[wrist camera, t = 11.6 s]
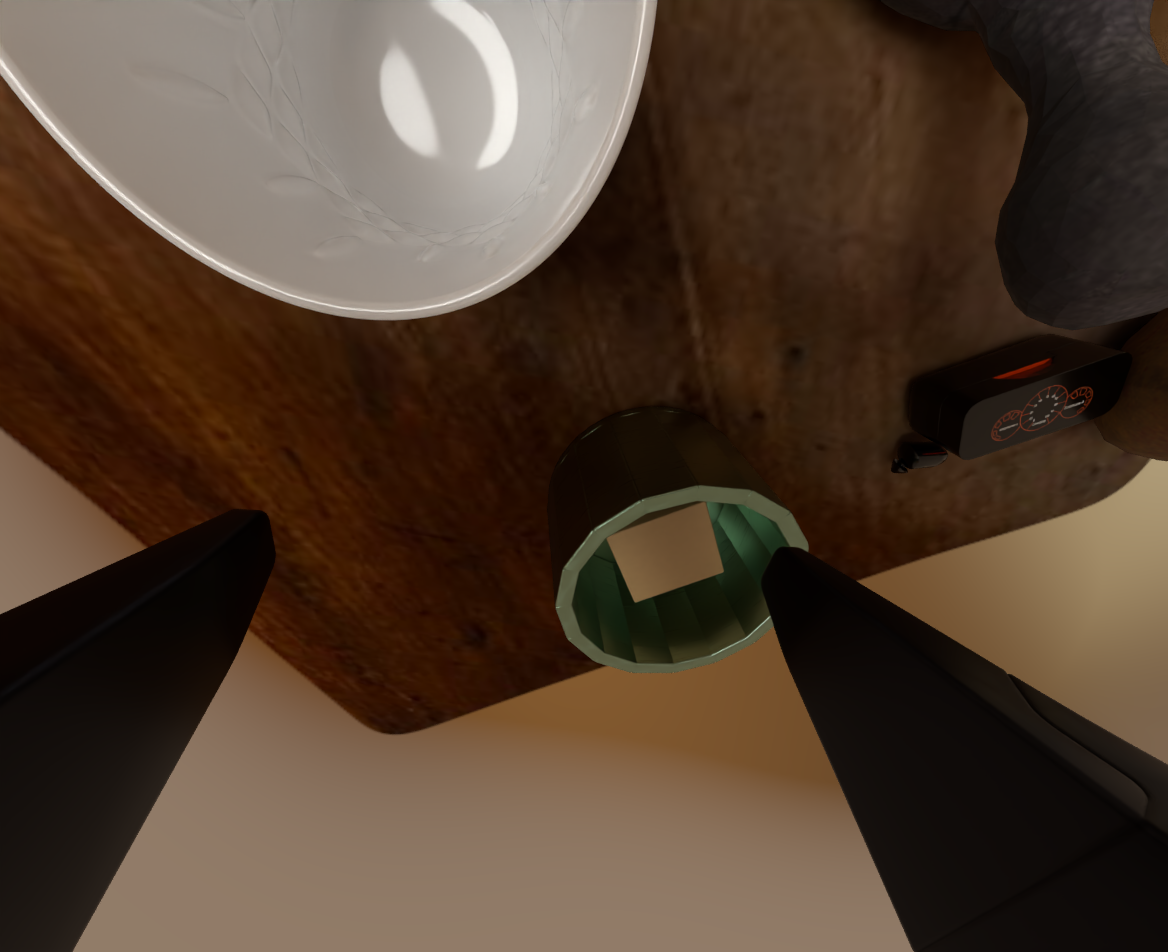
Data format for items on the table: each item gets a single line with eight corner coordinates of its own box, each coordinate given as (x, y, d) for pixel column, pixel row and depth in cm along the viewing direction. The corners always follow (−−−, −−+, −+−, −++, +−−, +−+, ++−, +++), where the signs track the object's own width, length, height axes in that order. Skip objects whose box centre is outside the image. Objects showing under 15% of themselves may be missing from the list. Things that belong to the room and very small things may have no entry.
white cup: (577, -76, 12) (718, -790, 3) (575, 256, 16) (635, 319, 7) (255, -105, 11) (-668, -1162, 2) (342, 254, 15) (109, 323, 7)
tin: (537, 560, 23) (541, 673, 18) (563, 393, 19) (581, 474, 13) (702, 569, 25) (753, 674, 19) (763, 418, 20) (854, 499, 15)
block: (618, 542, 22) (634, 603, 19) (591, 481, 20) (605, 537, 17) (693, 515, 22) (724, 572, 19) (675, 450, 20) (706, 500, 17)
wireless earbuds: (886, 383, 20) (945, 413, 17) (1050, 326, 19) (1137, 347, 17) (883, 467, 22) (933, 504, 20) (1028, 418, 22) (1101, 449, 19)
